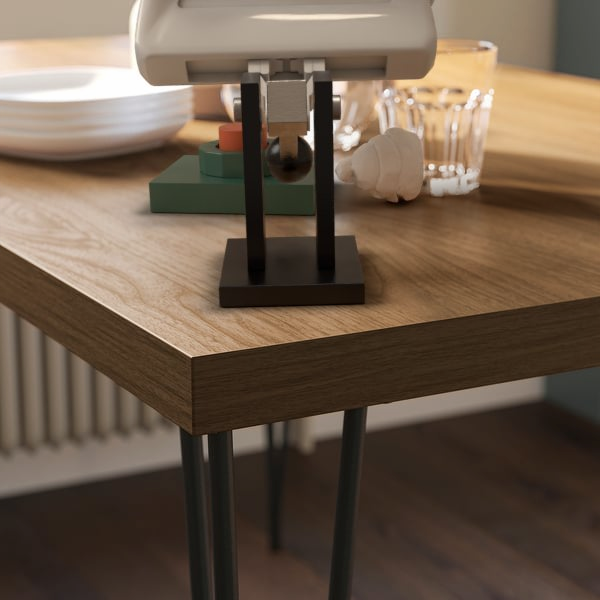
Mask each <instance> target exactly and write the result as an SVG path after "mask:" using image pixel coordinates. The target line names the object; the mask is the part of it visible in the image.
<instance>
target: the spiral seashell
mask: <svg viewBox="0 0 600 600" xmlns="http://www.w3.org/2000/svg"><path fill="white" fill-rule="evenodd" d="M424 163H425V161H424V151H423V146H422V141H421V139H420V137H419V135H418V134H417V133H416V132H412V131H408V130H406V129H405V128H402V127H395V126H394V127H389V128H387V129H386V130H385V131H384V132H383V134H377V135H375V136H373V137H370V139H369V140H368V142H365V143H362V144H361V145H360V146H358V147H357V148H356V149H355V150H354V151H353V153H352V155H350V156H347V157H345V158H343V159H342V160H340V161H339V162H338V163H337V164H336V166H334V174H335V176H336V177H337V180H339V181H341V182H343V183H346V184H352V185H355V186H356V187H358V188H360V189H362V190H363V191H364V192H365V191H367V192H369V193H370V195H371V196H372V197H374V198H376V199H379V200H384V199H385V200H386V201H388V202H391V203H398V202H399V197H400V198H401V199H403V200H405V201H411V200H414V199H416V198H417V197H418V195H419V194H420V193H421V191H422V187H423V184H424V183H423V182H424V175H425V174H424V173H425V165H424ZM398 196H399V197H398Z"/></svg>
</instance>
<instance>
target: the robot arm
mask: <svg viewBox="0 0 600 600" xmlns="http://www.w3.org/2000/svg"><path fill="white" fill-rule="evenodd" d="M434 3H435V0H140V1H139V6H138V11H137V15H136V16H137V18H136V22H135V31H134V54H135V61H136V65H137V70H138V73H139V75H140V76H141V77H142V79H143V80H145V82H147V83H148V84H149V85H150V86H152V87H172V86H173V87H176V86H177V87H178V86H214V85H215V86H217V85H240V83H241V79H242V75H243V73H249V72H260V78H261V107H262V112H263V113H264V114H265V125H266V132H267V133H269V132H268V121H267V81H291V80H306V84H307V120H308V123H307V132H311V112H313V71H330V74H331V78H332V81H333V83H334V82H368V81H369V82H370V81H371V82H372V81H375V82H377V81H408V80H409V81H413V80H423V79H424V78H425V77H426V76H427V75H428V74H429V73H430V72H431V70H432V69H433V68H434V66H435V63H436V57H437V51H438V32H437V25H436V21H435V17H434V13H433V8H432V6H433V5H434Z"/></svg>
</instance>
